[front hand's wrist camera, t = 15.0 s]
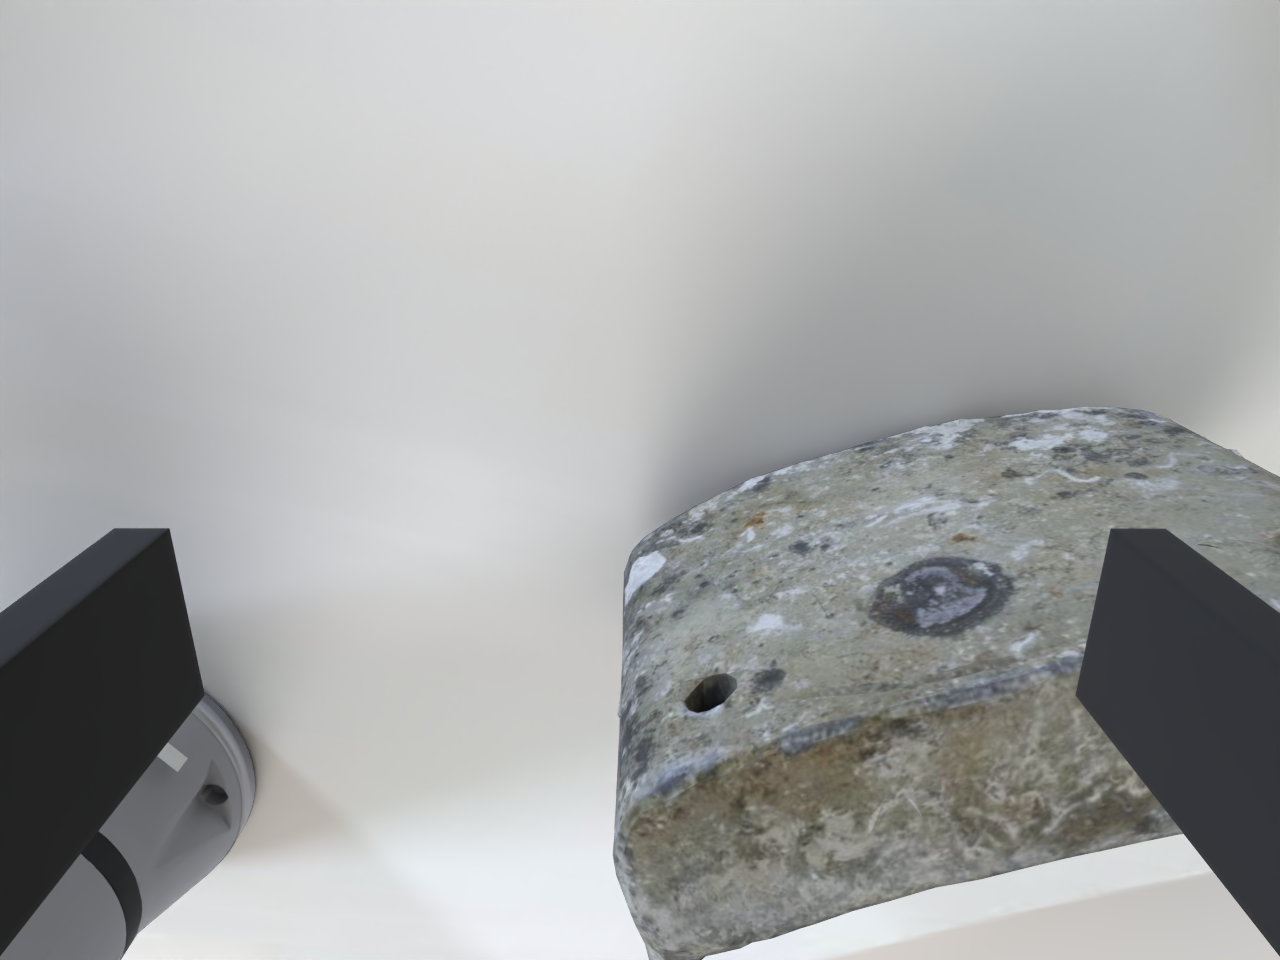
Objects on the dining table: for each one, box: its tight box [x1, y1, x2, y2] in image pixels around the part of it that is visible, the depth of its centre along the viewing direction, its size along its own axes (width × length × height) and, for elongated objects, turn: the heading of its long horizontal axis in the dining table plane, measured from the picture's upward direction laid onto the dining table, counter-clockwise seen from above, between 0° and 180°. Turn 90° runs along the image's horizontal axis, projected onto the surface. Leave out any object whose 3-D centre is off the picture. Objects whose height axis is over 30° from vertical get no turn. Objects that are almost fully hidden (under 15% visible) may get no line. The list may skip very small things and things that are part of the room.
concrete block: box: [613, 407, 1280, 960], centre depth 34 cm, size 27×9×20 cm, turn 105°
